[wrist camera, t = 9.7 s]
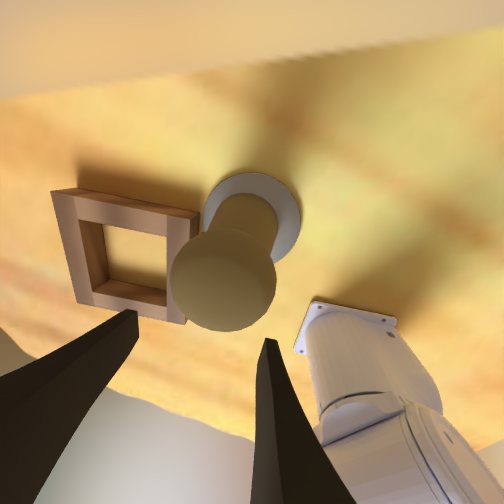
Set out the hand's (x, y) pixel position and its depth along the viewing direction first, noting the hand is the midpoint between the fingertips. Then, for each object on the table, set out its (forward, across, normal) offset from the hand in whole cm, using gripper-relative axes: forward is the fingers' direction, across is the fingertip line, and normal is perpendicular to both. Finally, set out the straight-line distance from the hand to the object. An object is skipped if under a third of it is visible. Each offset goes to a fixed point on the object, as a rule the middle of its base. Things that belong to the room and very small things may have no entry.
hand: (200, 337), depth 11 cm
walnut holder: (+10, +10, +2) cm, 14 cm away
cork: (+10, -1, -4) cm, 11 cm away
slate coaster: (+10, -1, -4) cm, 11 cm away
